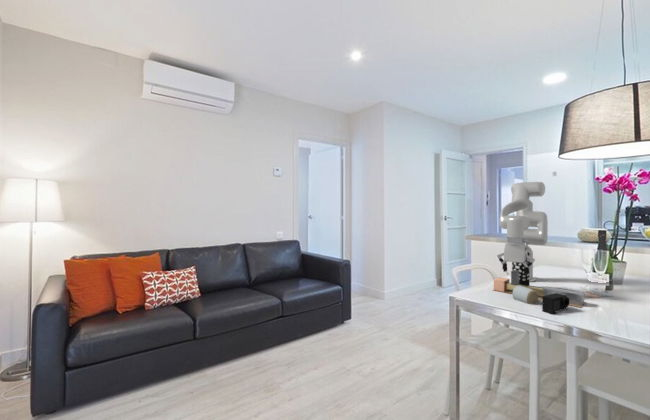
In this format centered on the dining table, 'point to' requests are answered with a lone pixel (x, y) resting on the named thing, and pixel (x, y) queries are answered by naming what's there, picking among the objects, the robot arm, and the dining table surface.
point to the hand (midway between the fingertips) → (515, 272)
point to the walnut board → (538, 297)
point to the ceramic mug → (525, 295)
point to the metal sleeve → (573, 296)
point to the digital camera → (554, 303)
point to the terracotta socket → (500, 284)
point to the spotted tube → (522, 272)
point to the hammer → (516, 282)
